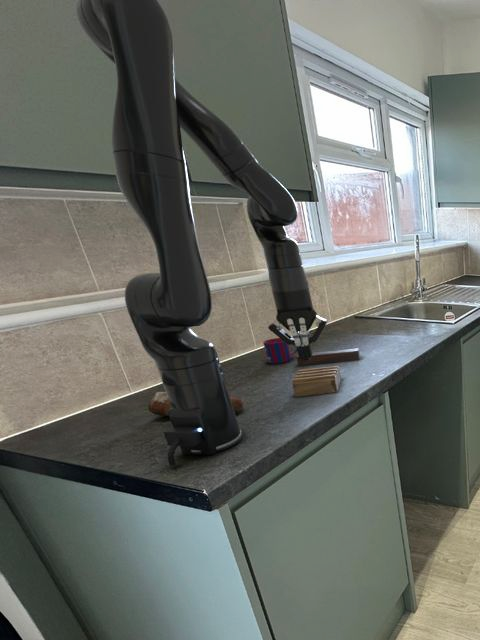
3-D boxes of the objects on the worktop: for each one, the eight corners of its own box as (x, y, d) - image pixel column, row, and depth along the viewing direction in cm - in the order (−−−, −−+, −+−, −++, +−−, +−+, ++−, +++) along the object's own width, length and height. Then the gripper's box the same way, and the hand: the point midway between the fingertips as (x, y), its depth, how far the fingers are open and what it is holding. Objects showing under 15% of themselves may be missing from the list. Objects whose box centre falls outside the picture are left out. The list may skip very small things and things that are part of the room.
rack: (337, 392, 107) (334, 376, 106) (295, 397, 105) (291, 381, 103) (341, 379, 116) (338, 364, 115) (302, 383, 114) (299, 368, 112)
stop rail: (359, 359, 133) (358, 350, 131) (298, 366, 128) (296, 356, 127) (360, 357, 135) (358, 348, 134) (300, 363, 131) (298, 354, 130)
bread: (170, 409, 100) (163, 388, 98) (249, 408, 99) (243, 386, 97) (149, 421, 94) (140, 398, 92) (232, 419, 93) (225, 397, 91)
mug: (266, 360, 134) (260, 340, 132) (298, 354, 140) (294, 334, 138) (271, 365, 129) (266, 344, 127) (305, 358, 135) (300, 338, 133)
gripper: (253, 292, 89) (273, 368, 96) (319, 287, 92) (334, 361, 99) (262, 287, 96) (280, 358, 102) (323, 283, 99) (337, 352, 105)
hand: (306, 359), depth 100 cm, fingers closed
